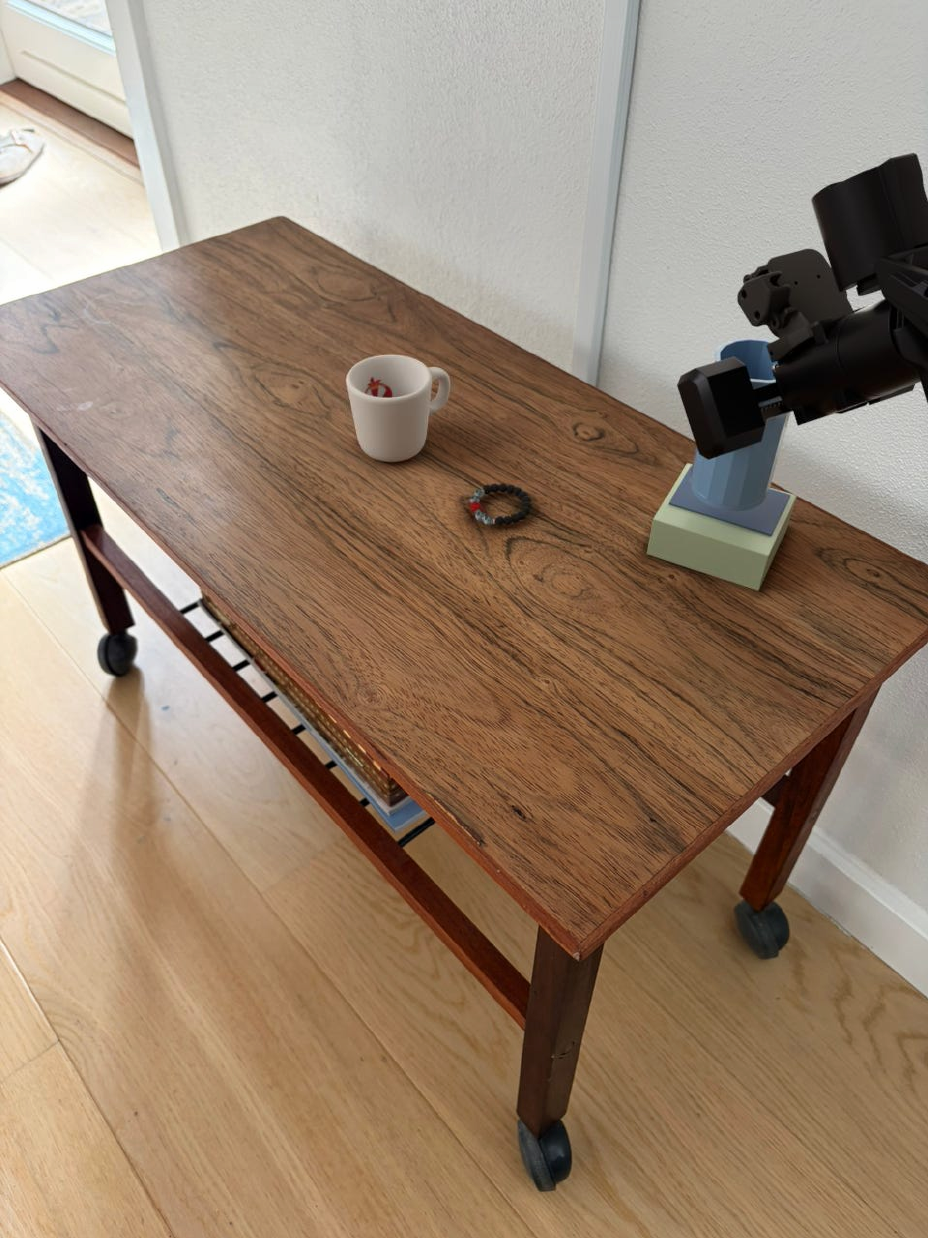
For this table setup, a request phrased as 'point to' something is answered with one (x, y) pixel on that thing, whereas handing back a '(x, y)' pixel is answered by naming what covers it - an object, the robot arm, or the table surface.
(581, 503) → the table surface
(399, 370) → the cup
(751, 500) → the blue hollow cylinder
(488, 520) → the bracelet
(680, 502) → the box
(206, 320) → the table surface
